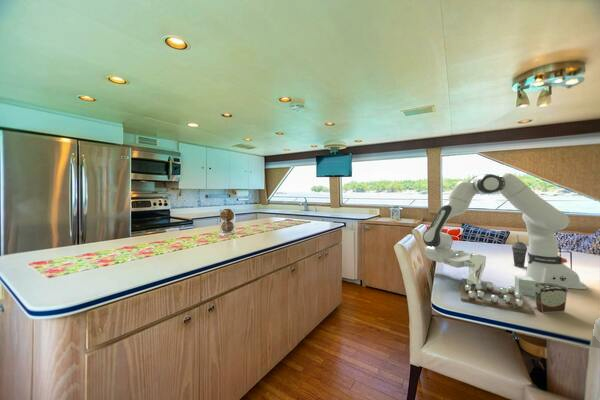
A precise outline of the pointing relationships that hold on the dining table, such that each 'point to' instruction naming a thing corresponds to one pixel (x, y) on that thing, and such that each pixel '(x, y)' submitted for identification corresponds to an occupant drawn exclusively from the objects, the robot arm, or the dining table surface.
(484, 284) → the grey mat
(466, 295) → the board
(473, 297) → the spacers
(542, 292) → the food container
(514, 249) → the beverage cup
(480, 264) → the silver metal tumbler
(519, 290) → the skincare box
